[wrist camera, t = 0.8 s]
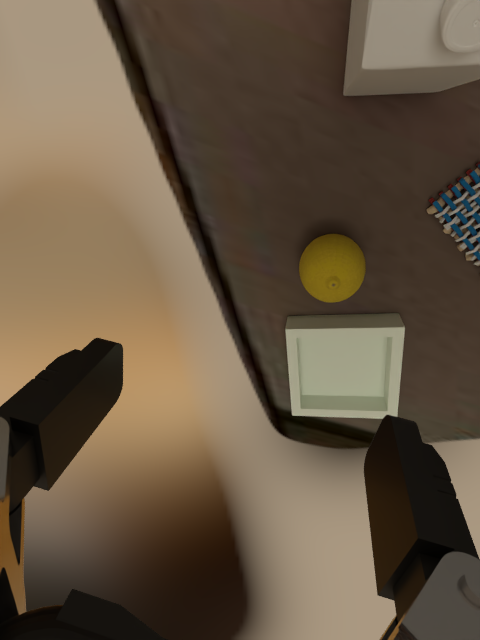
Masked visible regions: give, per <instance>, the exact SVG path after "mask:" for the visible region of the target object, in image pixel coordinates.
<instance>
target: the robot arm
mask: <svg viewBox="0 0 480 640" xmlns="http://www.w3.org/2000/svg"><path fill="white" fill-rule="evenodd" d="M122 386H123V347H122V345H121V344H119V343H116V342H112V341H108V340H104V339H100V338H96V339H94V340H92V341H91V342H90V343H89V344H88V345H87V346H86V347H85V348H84V349H83V350H82V351H80V350H76V349H75V350H73V351H70V352H68V353H66V354H64V355H61V356H59V357H58V358H56V359H55V360H54V361H53V362H52V363H51V364H49V365H48V366H47V367H46V369H45V370H43V371H41V372H40V373H39V374H38V375H37V376H35V379H32V380H31V381H30V382H29V383H27V384H26V385H25V386H24V387H23V388H22V389H20V390H19V391H18V392H17V393H16V394H15V395H13V396H12V397H11V398H10V399H9V400H8V401H6V402H5V403H4V404H3V405H2V406H1V407H0V640H167V639H164V638H163V637H161V636H160V635H159V634H157V633H156V632H154V631H153V630H152V629H151V628H149V627H148V626H147V625H146V624H144V623H143V622H142V621H140V620H139V619H138V618H136V617H135V616H134V615H133V614H131V613H130V612H129V611H127V610H126V609H125V608H124V607H122V606H121V605H119V604H116V603H112V602H110V601H107V600H104V599H101V598H98V597H95V596H92V595H89V594H86V593H83V592H80V591H77V590H74V589H72V590H71V592H70V594H69V596H68V598H67V600H66V601H65V603H64V605H52V606H46V607H41V608H38V609H34V610H30V611H27V612H26V600H25V589H24V575H23V566H24V564H23V563H24V520H25V519H24V518H25V499H24V497H25V496H26V495H27V493H28V492H29V491H30V490H31V488H32V487H33V486H35V487H38V488H42V489H44V490H48V491H49V490H50V488H51V487H52V486H53V484H54V483H55V482H56V481H57V479H58V478H59V477H60V475H61V474H62V473H63V471H64V470H65V469H66V467H67V466H68V465H69V463H70V462H71V461H72V460H73V458H74V457H75V456H76V454H77V453H78V452H79V450H80V449H81V448H82V446H83V445H84V444H85V442H86V441H87V440H88V438H89V437H90V436H91V435H92V433H93V432H94V431H95V429H96V428H97V427H98V425H99V424H100V423H101V421H102V420H103V419H104V417H105V416H106V415H107V413H108V412H109V411H110V410H111V408H112V407H113V406H114V404H115V403H116V402H117V400H118V398H119V396H120V393H121V390H122ZM364 477H365V486H366V494H367V504H368V512H369V521H370V530H371V539H372V548H373V557H374V566H375V574H376V584H377V593H378V595H379V596H382V597H385V598H388V599H392V600H394V601H395V607H396V614H397V615H396V617H395V618H394V619H393V620H392V621H391V623H390V625H389V626H388V628H387V629H386V631H385V632H384V634H383V635H382V637H381V638H380V640H480V559H479V557H478V554H477V552H476V549H475V546H474V543H473V540H472V538H471V535H470V532H469V529H468V526H467V523H466V520H465V518H464V515H463V512H462V509H461V506H460V504H459V501H458V499H456V492H455V490H454V487H453V484H452V483H451V478H450V476H449V473H448V470H447V467H446V464H445V462H444V461H443V459H442V458H441V457H440V456H439V454H438V453H437V452H436V450H435V449H434V448H433V446H432V445H429V444H425V443H423V442H422V439H421V436H420V433H419V429H418V426H417V424H416V423H415V422H414V421H410V420H407V419H403V418H399V417H395V416H391V415H386V416H385V417H384V418H383V420H382V422H381V424H380V426H379V428H378V430H377V432H376V434H375V436H374V438H373V440H372V442H371V444H370V447H369V449H368V451H367V454H366V457H365V463H364Z"/></svg>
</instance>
